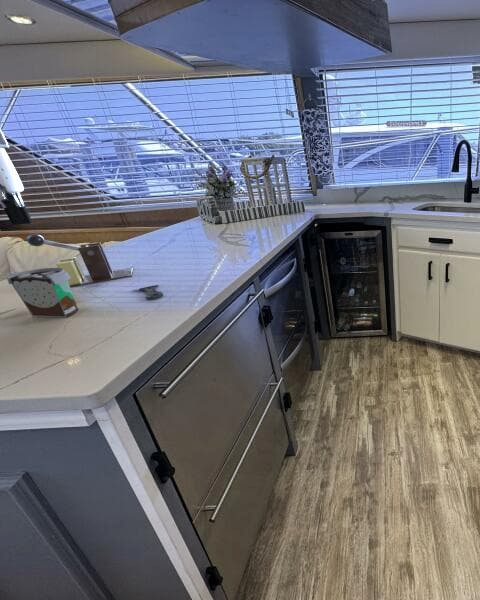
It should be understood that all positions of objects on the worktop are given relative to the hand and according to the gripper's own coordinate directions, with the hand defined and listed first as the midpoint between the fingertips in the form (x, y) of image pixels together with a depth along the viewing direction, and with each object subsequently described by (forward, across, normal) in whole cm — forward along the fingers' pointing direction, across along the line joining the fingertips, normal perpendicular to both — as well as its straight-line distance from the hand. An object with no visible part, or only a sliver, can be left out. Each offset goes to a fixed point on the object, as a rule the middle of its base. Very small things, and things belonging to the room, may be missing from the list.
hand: (22, 223), depth 78 cm
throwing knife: (+19, +12, +20) cm, 30 cm away
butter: (+18, -8, +3) cm, 20 cm away
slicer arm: (+9, -8, +3) cm, 12 cm away
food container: (+19, +16, +4) cm, 25 cm away
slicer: (+19, -8, +9) cm, 22 cm away
